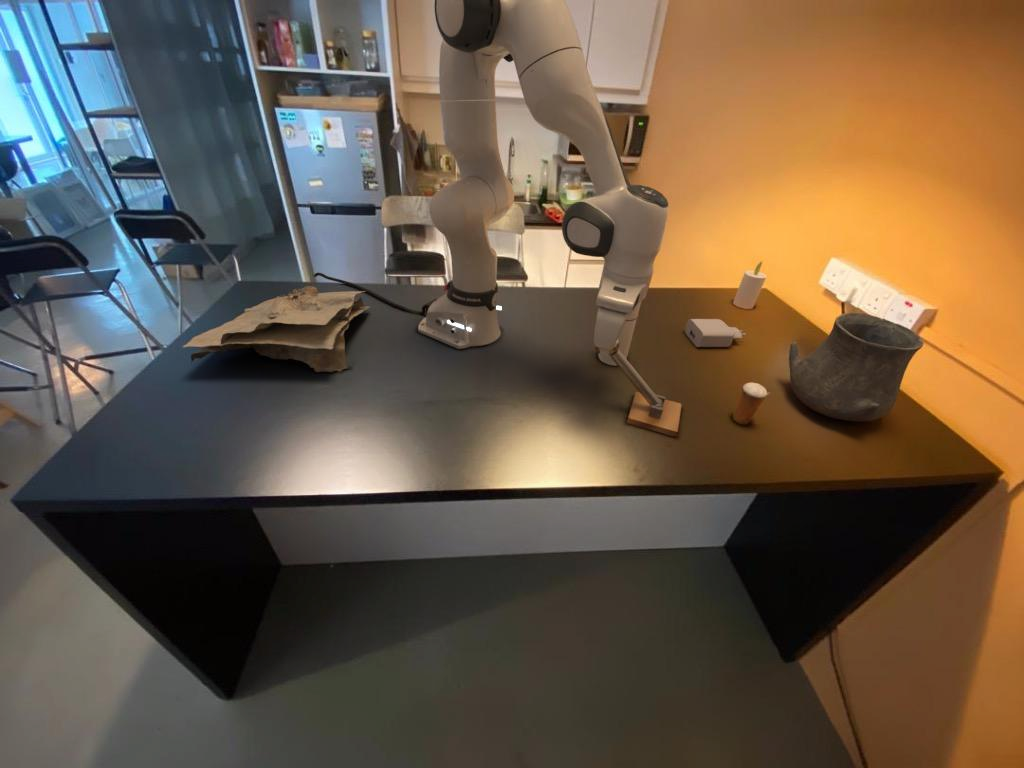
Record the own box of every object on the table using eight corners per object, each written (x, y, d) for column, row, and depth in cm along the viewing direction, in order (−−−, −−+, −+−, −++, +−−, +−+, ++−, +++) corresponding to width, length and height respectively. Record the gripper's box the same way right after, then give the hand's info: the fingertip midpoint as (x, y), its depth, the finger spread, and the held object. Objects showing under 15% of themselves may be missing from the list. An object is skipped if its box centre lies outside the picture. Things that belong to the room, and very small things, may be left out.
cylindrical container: (626, 367, 106) (651, 271, 91) (597, 362, 107) (617, 267, 92) (625, 352, 112) (649, 260, 97) (598, 348, 113) (617, 256, 98)
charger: (749, 348, 117) (697, 348, 115) (732, 332, 124) (683, 331, 123) (756, 333, 114) (703, 333, 113) (738, 317, 121) (688, 317, 120)
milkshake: (754, 431, 89) (774, 393, 83) (727, 421, 91) (745, 384, 85) (757, 419, 92) (776, 382, 86) (731, 410, 94) (748, 373, 88)
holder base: (626, 423, 89) (630, 408, 87) (634, 396, 97) (638, 382, 94) (675, 437, 86) (681, 423, 84) (679, 408, 94) (684, 395, 92)
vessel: (915, 433, 91) (981, 355, 80) (825, 440, 88) (880, 360, 76) (838, 374, 109) (883, 303, 97) (761, 378, 105) (798, 305, 93)
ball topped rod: (586, 345, 86) (606, 333, 82) (592, 334, 89) (611, 322, 86) (648, 420, 90) (669, 411, 86) (651, 406, 93) (671, 397, 90)
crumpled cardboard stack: (252, 282, 117) (367, 274, 117) (270, 337, 124) (378, 329, 124) (165, 322, 85) (323, 310, 86) (197, 393, 92) (342, 381, 93)
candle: (750, 301, 142) (769, 258, 133) (755, 310, 137) (774, 265, 128) (731, 298, 143) (748, 255, 134) (734, 307, 138) (752, 262, 129)
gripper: (618, 261, 87) (604, 320, 95) (594, 300, 71) (579, 367, 80) (649, 268, 85) (632, 327, 94) (631, 309, 70) (612, 376, 78)
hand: (607, 346), depth 87 cm, fingers closed on ball topped rod, 5 cm apart
